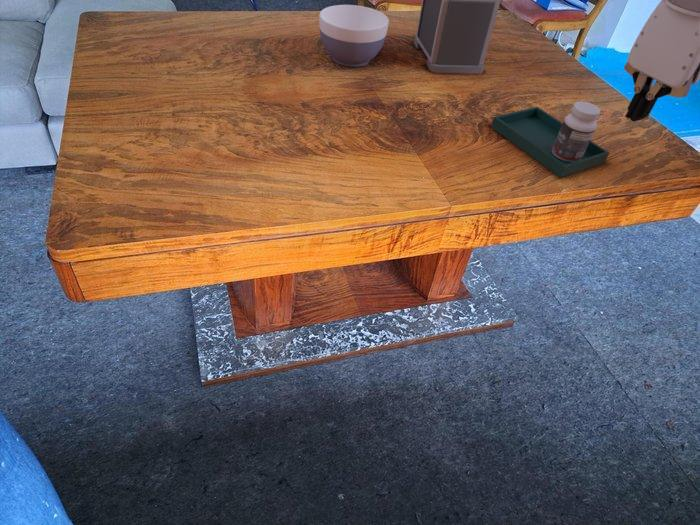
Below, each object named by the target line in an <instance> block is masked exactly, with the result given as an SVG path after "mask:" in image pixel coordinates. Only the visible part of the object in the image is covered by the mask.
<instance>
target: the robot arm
mask: <svg viewBox="0 0 700 525" xmlns="http://www.w3.org/2000/svg"><path fill="white" fill-rule="evenodd" d="M623 69H624V70H625V72H626V73H628V75H630V76H631V77H632V80H633V84H634V86H633V93H634V94H633V96H632V98H631V100H630V102H629V104H628V106H627V111H626V114H625V118H627V119H628V120H629V119H630V121H631V122H633V123H634V122H638V121H641V120H644V119H645V118H647V117H648V116H649V115H650V114H651V112H652V111H653V108H654V107H655V104H656V103H657V101H658V99H660V98H663V97H666V96H670V97H674V98H679V99H681V98H684V97H687V96H688V95H689V92H690V90H691V87H692V85H695V84H697V83H698V82H699V81H700V0H661V1H659V3H658V4H657V5H656V7H655V9H654V10H653V11H652V13H650V15H649V17H648V19H647V20H646V21H645V23H644V25H643V27H642V28H641V30H640V31H639V33H638V35H637V37H636V39H635V41H634V43H633V45H632V46H631V49H630V51H629V53H628V56H627V62H626V63H625V65H624V66H623Z"/></svg>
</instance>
